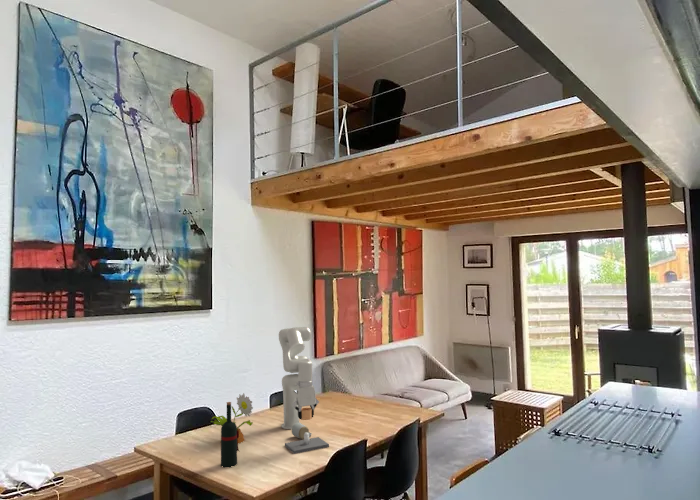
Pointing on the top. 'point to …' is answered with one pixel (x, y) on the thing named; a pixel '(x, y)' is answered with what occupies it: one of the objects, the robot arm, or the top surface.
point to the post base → (306, 444)
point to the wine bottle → (229, 441)
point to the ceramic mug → (300, 430)
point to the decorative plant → (245, 408)
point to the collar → (306, 413)
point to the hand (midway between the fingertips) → (305, 417)
